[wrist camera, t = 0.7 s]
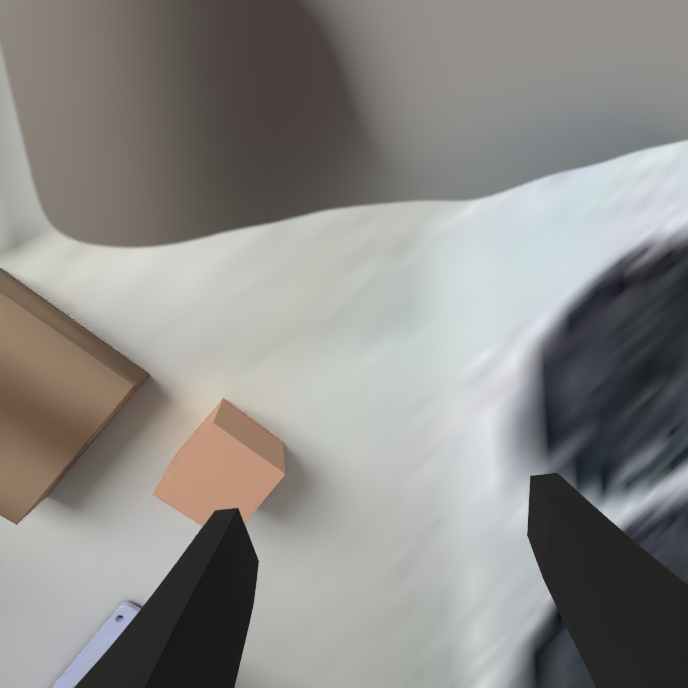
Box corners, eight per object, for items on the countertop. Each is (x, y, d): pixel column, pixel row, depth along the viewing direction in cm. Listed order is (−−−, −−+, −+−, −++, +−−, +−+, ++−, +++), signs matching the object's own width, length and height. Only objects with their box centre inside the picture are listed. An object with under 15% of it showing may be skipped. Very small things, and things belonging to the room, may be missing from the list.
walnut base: (46, 497, 25) (16, 524, 22) (-115, 402, 23) (-171, 418, 20) (149, 374, 25) (133, 385, 22) (0, 267, 23) (-39, 264, 20)
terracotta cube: (235, 497, 28) (228, 542, 23) (174, 456, 26) (152, 494, 22) (282, 441, 28) (285, 474, 23) (223, 397, 26) (212, 422, 22)
